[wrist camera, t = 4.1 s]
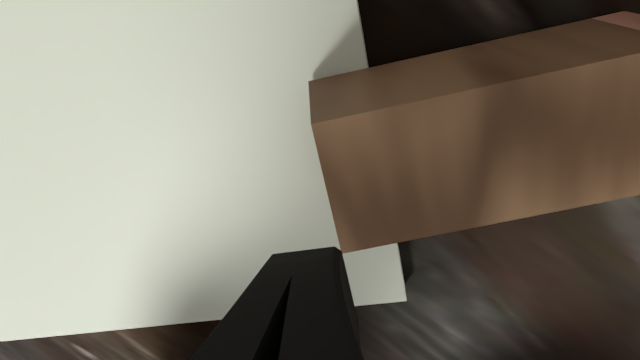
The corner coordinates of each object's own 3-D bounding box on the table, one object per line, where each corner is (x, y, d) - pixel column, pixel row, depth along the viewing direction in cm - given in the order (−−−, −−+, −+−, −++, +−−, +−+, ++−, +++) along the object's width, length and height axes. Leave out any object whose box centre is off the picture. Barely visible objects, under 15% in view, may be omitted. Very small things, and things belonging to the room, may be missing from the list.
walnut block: (332, 187, 17) (613, 129, 16) (341, 253, 13) (703, 182, 12) (308, 81, 15) (624, 11, 14) (311, 124, 11) (732, 32, 11)
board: (404, 284, 20) (406, 301, 19) (14, 326, 23) (0, 341, 23) (332, -152, 13) (330, -158, 12) (-218, 2, 16) (-251, 6, 15)
